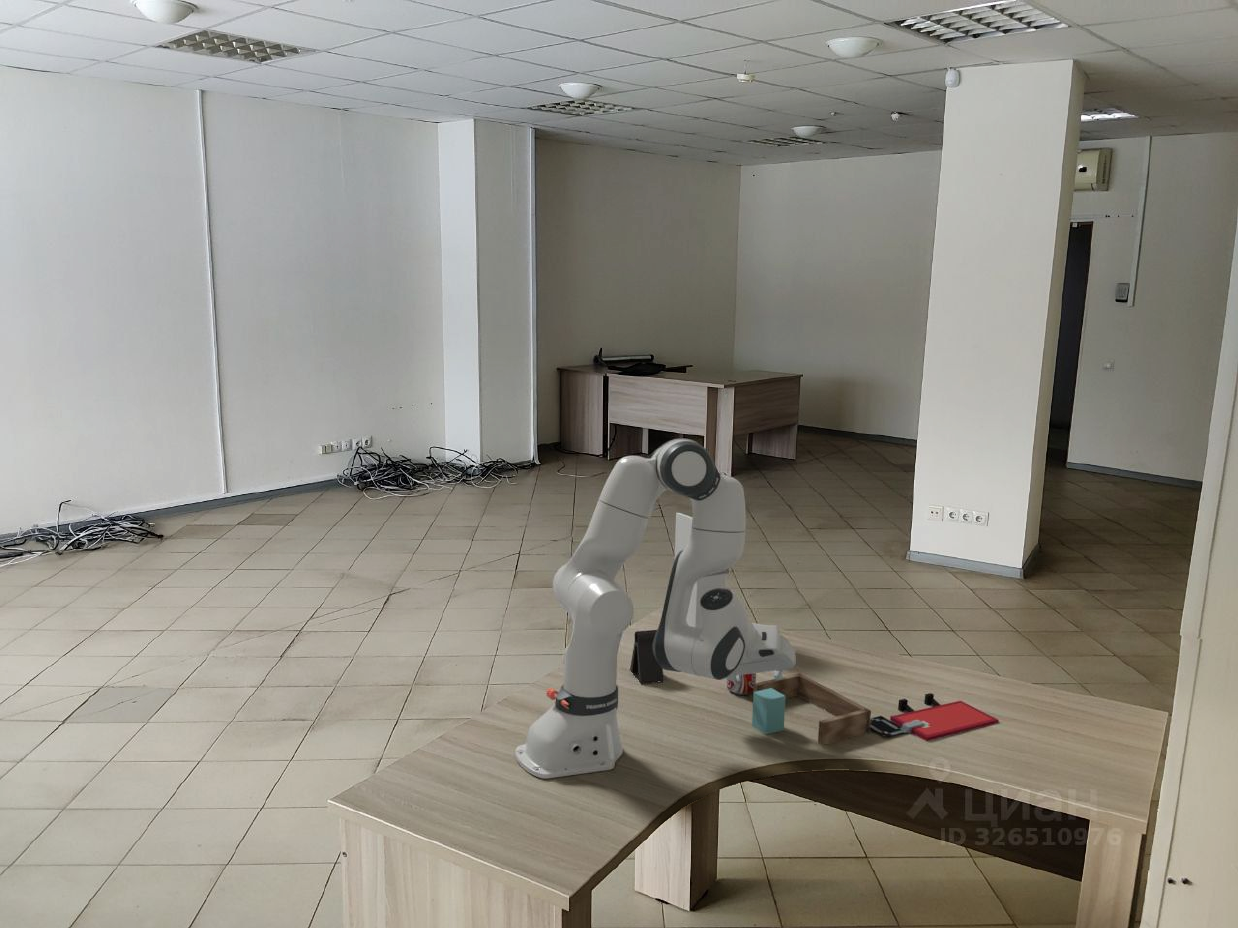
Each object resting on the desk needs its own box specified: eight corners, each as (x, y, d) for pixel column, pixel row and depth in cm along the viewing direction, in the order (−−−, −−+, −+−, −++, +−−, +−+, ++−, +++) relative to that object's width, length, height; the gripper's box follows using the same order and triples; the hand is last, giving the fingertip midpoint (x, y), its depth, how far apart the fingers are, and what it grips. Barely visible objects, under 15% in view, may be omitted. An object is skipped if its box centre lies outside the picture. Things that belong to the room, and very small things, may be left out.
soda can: (746, 698, 230) (748, 651, 228) (720, 691, 234) (722, 644, 232) (760, 689, 235) (762, 643, 233) (735, 682, 239) (737, 636, 237)
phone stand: (629, 670, 245) (631, 626, 243) (652, 668, 247) (653, 624, 245) (640, 684, 237) (642, 638, 235) (663, 682, 239) (665, 636, 237)
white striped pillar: (725, 638, 270) (731, 517, 264) (694, 644, 265) (699, 521, 259) (702, 626, 280) (707, 509, 274) (672, 632, 275) (676, 512, 269)
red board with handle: (853, 720, 219) (901, 749, 206) (854, 709, 219) (902, 737, 206) (947, 699, 233) (998, 725, 220) (949, 688, 233) (999, 714, 220)
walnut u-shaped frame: (821, 744, 207) (822, 723, 206) (753, 703, 227) (754, 683, 226) (869, 731, 214) (871, 710, 213) (798, 692, 234) (799, 673, 233)
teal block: (765, 734, 211) (767, 700, 210) (752, 725, 215) (753, 691, 214) (783, 729, 214) (785, 695, 212) (769, 721, 218) (771, 687, 216)
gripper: (693, 661, 209) (714, 697, 217) (784, 648, 202) (802, 685, 210) (695, 638, 213) (715, 673, 222) (784, 624, 206) (802, 661, 214)
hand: (758, 679), depth 216 cm, fingers open, 8 cm apart
